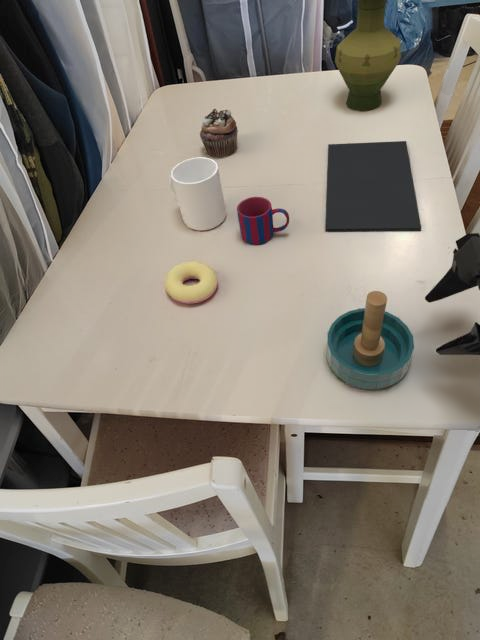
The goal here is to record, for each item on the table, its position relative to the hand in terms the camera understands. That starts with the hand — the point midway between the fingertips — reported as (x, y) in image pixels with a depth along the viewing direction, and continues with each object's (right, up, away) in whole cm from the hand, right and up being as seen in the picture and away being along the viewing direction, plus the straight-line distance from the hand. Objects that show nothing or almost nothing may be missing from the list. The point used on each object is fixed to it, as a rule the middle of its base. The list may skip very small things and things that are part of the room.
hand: (431, 325), depth 61 cm
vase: (+7, +60, +59) cm, 84 cm away
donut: (-35, +7, +22) cm, 42 cm away
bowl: (-7, -5, +7) cm, 11 cm away
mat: (+2, +30, +36) cm, 47 cm away
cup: (-21, +18, +29) cm, 40 cm away
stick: (-7, -5, +7) cm, 11 cm away
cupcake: (-31, +45, +53) cm, 76 cm away
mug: (-35, +23, +36) cm, 55 cm away
